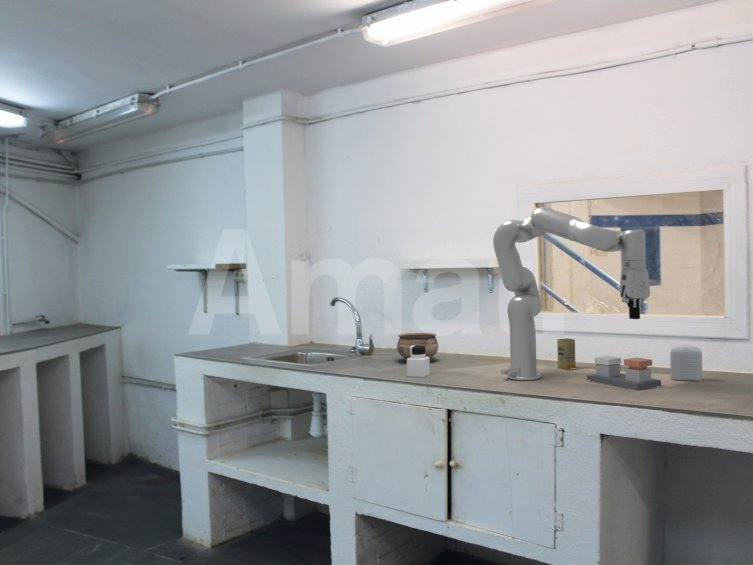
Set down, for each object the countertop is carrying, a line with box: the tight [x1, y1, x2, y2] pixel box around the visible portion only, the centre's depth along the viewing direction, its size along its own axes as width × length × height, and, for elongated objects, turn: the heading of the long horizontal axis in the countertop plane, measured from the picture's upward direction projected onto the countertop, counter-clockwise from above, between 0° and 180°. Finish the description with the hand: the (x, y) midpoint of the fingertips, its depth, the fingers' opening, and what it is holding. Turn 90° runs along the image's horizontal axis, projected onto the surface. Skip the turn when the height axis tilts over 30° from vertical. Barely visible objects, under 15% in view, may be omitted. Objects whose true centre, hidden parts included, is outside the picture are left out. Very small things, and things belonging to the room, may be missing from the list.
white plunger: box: [594, 355, 622, 365], centre depth 227 cm, size 6×6×6 cm
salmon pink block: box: [623, 357, 653, 370], centre depth 215 cm, size 6×6×6 cm
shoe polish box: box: [556, 337, 577, 370], centre depth 254 cm, size 5×5×12 cm
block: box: [586, 363, 662, 391], centre depth 221 cm, size 12×22×6 cm, turn 28°
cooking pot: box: [396, 332, 439, 360], centre depth 285 cm, size 25×19×12 cm
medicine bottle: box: [406, 345, 431, 378], centre depth 249 cm, size 7×7×12 cm
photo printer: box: [669, 345, 703, 382], centre depth 223 cm, size 10×4×12 cm, turn 72°
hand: (634, 318), depth 215 cm, fingers closed
